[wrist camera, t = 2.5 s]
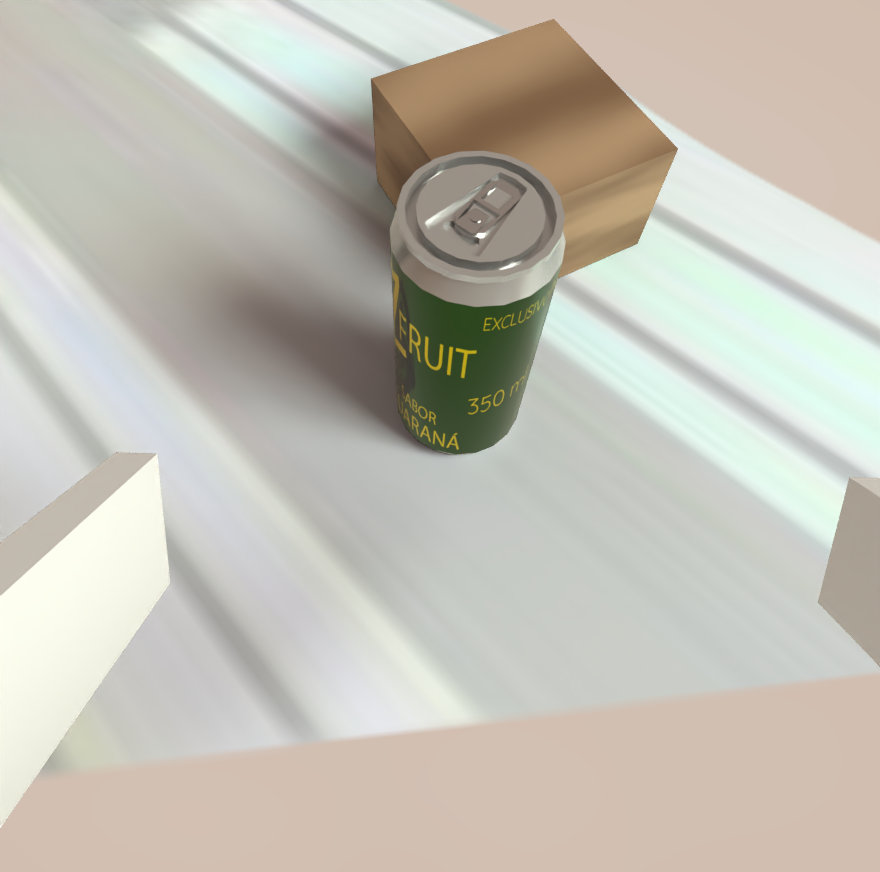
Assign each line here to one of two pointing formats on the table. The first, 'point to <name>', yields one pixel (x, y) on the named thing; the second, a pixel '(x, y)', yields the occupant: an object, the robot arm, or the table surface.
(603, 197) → the walnut block
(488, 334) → the guarana soda can
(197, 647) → the table surface
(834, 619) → the robot arm
